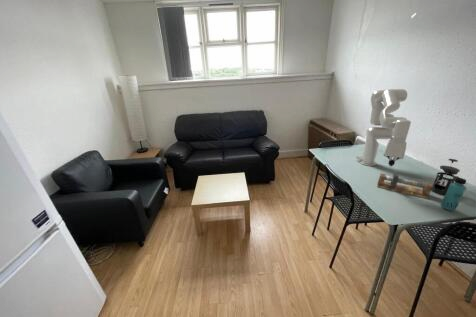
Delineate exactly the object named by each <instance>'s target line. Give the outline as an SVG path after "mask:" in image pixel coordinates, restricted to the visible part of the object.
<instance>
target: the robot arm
mask: <svg viewBox="0 0 476 317" xmlns="http://www.w3.org/2000/svg"><path fill="white" fill-rule="evenodd" d="M407 97H408V91H407V90H406V89H403V88H401V89H400V88H398V89H397V88H396V89H393V88H391V89H387V90H386V89H382V90H375V91H373V92H372V93H371V96H370V105H371V113H370V120H369V121H370V125H371V127H368V129H367V130H366V134H365V135H366V138H365V142H364V147H363V148H364V149H363V152H362V156H359V155H358V156H355V158H356V159H357V160H359V161H358V162H359V164H361V165H364V166H368V167H373V166H376V165H377V162H376V157H377V154H378V151H379V150H378V149H379V142H378V141H377V140H388V142H387V143H386V147H385V149H384V153H383V157H386V158H387V159H388V167H393V166H394V165H395V163H396V161H398V160H404V158H405V154H406V151H407V150H406V149H407V138H408V134H409V131H410V127H411V123H412V122H411V120H409V119H407V117H403V116H394V115H393V113H394V112H396V111H398V110H399V109H400V107H401V102H405V101H406V100H407ZM379 126H380V127H379ZM392 157H393V158H392Z"/></svg>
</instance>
